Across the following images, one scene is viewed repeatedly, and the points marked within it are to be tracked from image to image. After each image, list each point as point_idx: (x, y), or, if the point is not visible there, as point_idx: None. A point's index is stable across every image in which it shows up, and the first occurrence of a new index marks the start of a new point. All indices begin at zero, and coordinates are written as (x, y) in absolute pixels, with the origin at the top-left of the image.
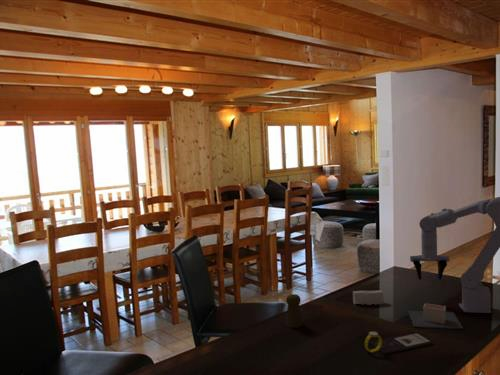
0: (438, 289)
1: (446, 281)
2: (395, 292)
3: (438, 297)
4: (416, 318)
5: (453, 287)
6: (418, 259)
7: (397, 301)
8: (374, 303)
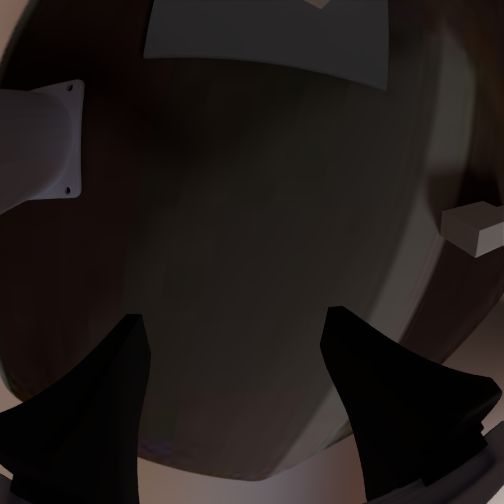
0: (155, 382)
1: None
2: None
3: (166, 300)
4: (366, 1)
5: None
6: (478, 479)
7: (386, 237)
8: (469, 206)
